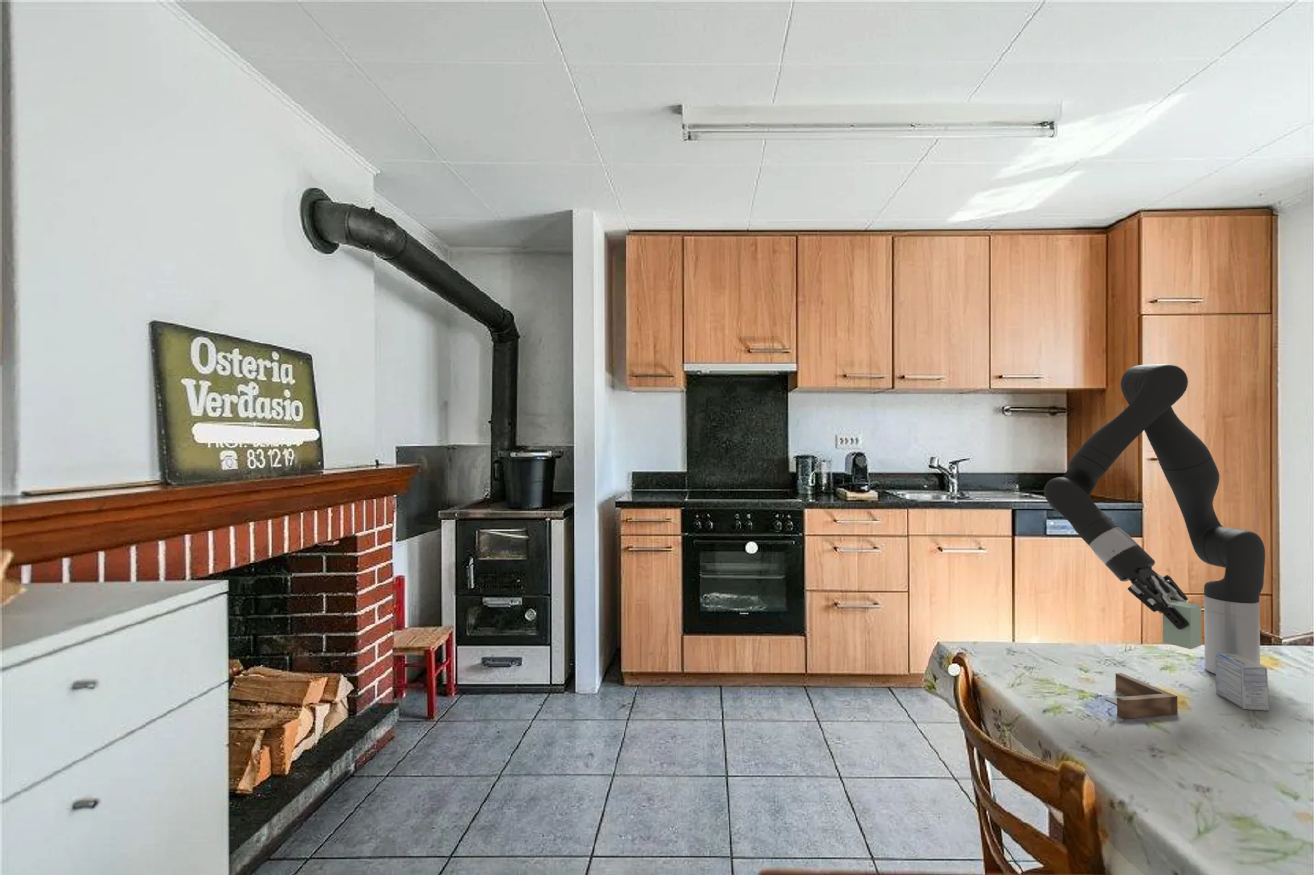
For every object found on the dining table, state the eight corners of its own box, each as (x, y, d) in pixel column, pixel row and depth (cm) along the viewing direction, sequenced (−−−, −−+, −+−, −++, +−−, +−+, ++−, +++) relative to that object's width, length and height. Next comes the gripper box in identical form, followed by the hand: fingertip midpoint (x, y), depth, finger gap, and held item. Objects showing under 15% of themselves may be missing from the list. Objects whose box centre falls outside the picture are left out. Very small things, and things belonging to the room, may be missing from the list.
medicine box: (1269, 711, 119) (1269, 667, 119) (1242, 709, 120) (1242, 666, 120) (1239, 695, 127) (1239, 653, 127) (1214, 693, 128) (1214, 652, 128)
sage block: (1173, 638, 124) (1173, 599, 124) (1201, 645, 120) (1201, 605, 120) (1162, 642, 122) (1162, 602, 122) (1190, 649, 118) (1190, 608, 118)
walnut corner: (1121, 689, 130) (1121, 673, 130) (1177, 714, 118) (1177, 696, 118) (1072, 693, 128) (1072, 676, 128) (1124, 718, 116) (1123, 700, 116)
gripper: (1117, 546, 124) (1191, 621, 114) (1151, 540, 131) (1224, 610, 120) (1089, 567, 129) (1157, 640, 118) (1123, 560, 136) (1190, 629, 125)
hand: (1190, 625), depth 119 cm, fingers closed on sage block, 4 cm apart
